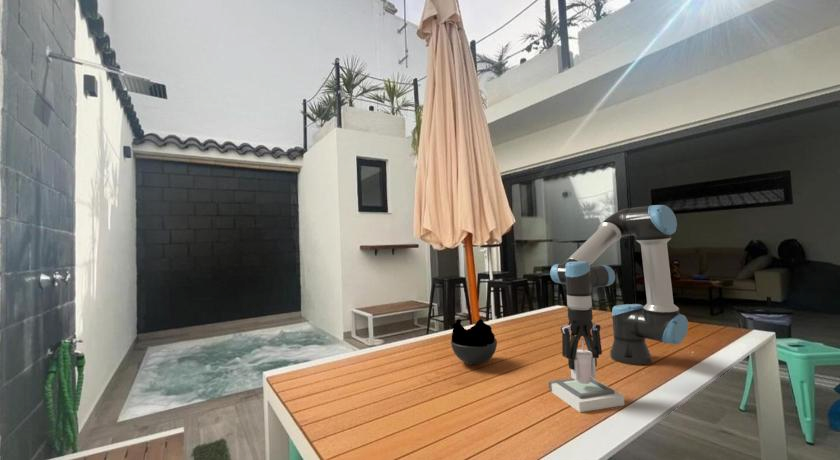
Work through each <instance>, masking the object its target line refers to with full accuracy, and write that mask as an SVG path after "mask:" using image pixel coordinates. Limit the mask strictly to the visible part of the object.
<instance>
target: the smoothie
mask: <svg viewBox="0 0 840 460" xmlns="http://www.w3.org/2000/svg"><path fill="white" fill-rule="evenodd" d="M584 342H585V340H584V338H581V346H582V347H581V349H578V348H577V352H576V357H575V359H576V360H577V362H578V382H579V383H583V384H588V383H590V377H591V376H590V373H591V357H592V352H590V351H588V349H585V343H584Z"/></svg>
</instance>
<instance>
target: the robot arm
mask: <svg viewBox="0 0 840 460" xmlns="http://www.w3.org/2000/svg"><path fill="white" fill-rule="evenodd" d="M677 227H678V221H677V217H676V215H675V213H674V211H673V210H672V209H671V208H670V207H669V206H667V205H665V204H655V205H654V204H653V205H647V206H646V205H644V206H637V207H627V208H623V209H621V210H618V211H617V212H614V213H612V214H610V215H609V216H608V217H607V218H605V219H604V220H603V221H602V222H601V223H600V224H599V225H598V228H597V230H596V231H595V232H594V233H593V234H592V235H591V236H590V237H588V239H587V240H585V241H584V243H583V244H582V245H581V246H579V248H578V249H577V250H576V251H574V253H572V254H571V255H570V257H568V259H566V260H565V261H564V262H563V263H556V264H553V265H552V266H551V268H550V271H549V275H550V278H551V281H553V282H555V283H557V284H561V285H565V287H566V302H567V303H566V304H567V319H568V324H567V325H566V326H561V327H560V331H561V334H562V335H561V338H562V339H561V340H562V344H561V347H562V348H561V350H562V351H561V352H562V357H563V358H565V359H567V360H568V362H567V363H568V368H569V369H570V377H571V378H573V379H575V380H576V381H577V380H578V362H577V360H576V359H575V357H576V352H577V349H578V346H579V341H580V340H581V339H582V338H583V340H584V342H585V345H586V348H587V350H588V351H590V352H592V357H591V373H590V377H591V378H593V379H597V374H596V373H597V371H596V370H597V369H596V368H597V365H598V359H599V358H600V356H602V355H603V354H602V353H603V350H602V342H601V341H602V340H601V334H600V332H601V325H600V324H598V323H594V322H593V321H592V320H593V317H594V316H593V309H592V308H593V299H592V289H594V288H595V289H596V288H597V289H598V288H605V287H609V286H611V285H613V284H614V283H615V280H616V274H615V270H614V269H612V267H611V266H609V265H606V264H598V265H592V264H594V262H595V261H596V260H597V259H598V258H599V257H600V256H601V255H602V254H603V253H604V252H605V251H606V250H607V249H608V248H609V247H610V246H611V245H612V244H613V243H614V242H618V241H620V240H621V238H624V237H630V236H634V237H635V241H636V242H637V243H639V245H640V248H641V249H640V250H641V259H642V260H641V261H642V268H643V276H644V286H645V295H646V304H645V305H643V304H640V303H632V304H631V303H630V304H629V303H626V304H618V305H614V306H613V307H612V311H611V317H612V330H613V340H612V346H611V349H610V351H609V355H610V356H609V357H610V358H611V360H614V361H616V362H619V363H623V364H628V365H634V366H635V365H636V366H637V365H638V366H642V365H643V366H644V365H649V364H651V363H653V362H652V361H653V360H652V354H651V353H650V350H649V347H648V345H647V342H646V339H647V340H651V341H656V342H659V343H664V344H670V345H671V344H672V345H678V344H681V343H682V342H683V341H684V340H685V338H686V336H687V334H688V332H689V331H688V330H689V321H688V319H687V317H686V316H685V315H684V314H681V313H680V308H679V307H678V306H677V305H676V304H674V296H673V286H672V279H671V269H670V260H669V252H668V251H669V250H668V242H669V241H670V240H672V236H671V235H673V234H675V233H676V231H677Z"/></svg>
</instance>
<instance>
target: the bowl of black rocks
mask: <svg viewBox="0 0 840 460" xmlns="http://www.w3.org/2000/svg"><path fill="white" fill-rule="evenodd" d="M461 323H462V320H461V319H460V318H457V320H456V321H455V322H454V323H453V324H452V328H453V329H452V332H451V333H452V334H451V340H450V345H451V348H452V351H453V353H454V354H455V355H456V357H457V358H458V359H459V360H460V361H462V362H463V363H466V364H468V365H471V366H472V365H473V366H475V365H476V366H478V365H482V364H485V363H486V362H489V360H491V358H492V357H493V356H494V355H495V352H496V351H497V346H498V340H497V339H496V338H495V337H496V336H495V334H494V333H493V330H492V327H491V325H489V324H487V323H485V322H484V320H483V319H482V318H480V319H478V320H477V321H476V322H475V324H474V325H473V326H472V327H471V326H470V328H468V329H466V328H465V327H464V326H463V325H462V324H461Z"/></svg>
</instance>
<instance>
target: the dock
mask: <svg viewBox="0 0 840 460" xmlns="http://www.w3.org/2000/svg"><path fill="white" fill-rule="evenodd" d="M548 391H550V392H551V393H552V394H554V395H555V397H556V396H557V397H558V398H559V399H560V400H562V401H563V402H565V403H566V404H568V405H569V406H571V408H573V409H574V410H576V411H577V412H579V413H584V412H590V411H596V410H601V409H608V408H614V407H620V406H625V395H624V394H623V393H620V392H618V391H617V390H615V389H613V388H611V387H609V386H608V385H606V384H603V383H602V382H601V381H598V380H597V379H596V378H593V377H591V376H590V383H588V384H583V383H579V382H578V380H577V381H576V380H575V379H573V378H565V379H563V378H562V379H556V380H551V381H550V380H549V381H548Z"/></svg>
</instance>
